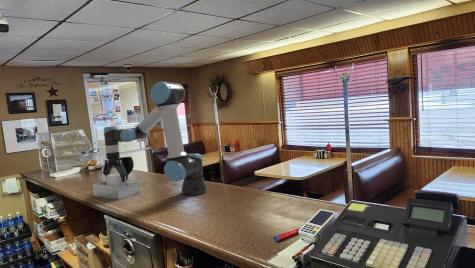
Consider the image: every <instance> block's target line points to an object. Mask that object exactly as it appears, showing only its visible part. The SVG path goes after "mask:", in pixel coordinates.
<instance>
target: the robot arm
mask: <svg viewBox="0 0 475 268" xmlns="http://www.w3.org/2000/svg"><path fill="white" fill-rule="evenodd" d="M185 96H186V91H185V89H184V86H183V85H182V84H180V83H178V82H172V81H171V82H169V81H158V82H156V83H154V84H153V86H152V87H151V90H150V99H151V101H152V102H153V103H155V104H156V106H155V107H154V109H152V110H151V111H150V113H148V115H146V116H145V117H144V119H142V120H141V121H140V122H139V124H137V125H136V126H135V127H130V128H121V129H118V127H117V126H115V125H113V126H112V125H111V126H105V127H104V128H103V138H104V145H105V148H104V149H105V157H106V159H105V160H104V165H103V171H102V174H103V175H104V176H105V181H106V184H107V185H108V186H109V184H108V178H107V175H110V174H111V172H112V170H113V168H114V169H115V170H116V171H117V173H119V174H120V184H121V186H122V185H125V180H126V177H125V176H126V175H127V172H126V170H125V167H124V165H123V161H122V160H118V158H121V157H120V148H119V147H120V146H119V143H124V142H125V143H129V142H133V141H137V140H143V139H146V138H148V136H149V133H150V131H152V129H153V128H154V127H155V126H156V125H157V124H158V123H160V121H161V122H162V127H163V131H164V132H163V133H164V136H165V137H164V138H165V143H166V147H167V153H168V154H167V156H166V163H165V164H164V167H163V171H164V174H165V176H166V178H168V179H169V180H170V181H172V182H181V181H182V185H181V190H180V191H181V193H180V194H181V195H183V196H198V195H202V194H205V193H207V192H208V186H207V184H206V182H205V179H204V169H203V156H202V154H200V153H187V152H186V151H185V148H184V143H183V138H182V137H183V136H182V132H181V126H180V121H179V115H178V110H177V109H178V107H179V105H181V103H182V102H183V101H184V100H185Z"/></svg>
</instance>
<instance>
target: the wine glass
mask: <svg viewBox="0 0 475 268" xmlns="http://www.w3.org/2000/svg"><path fill="white" fill-rule="evenodd" d="M118 160H122V161H123V165H124V167H125V170H126V172H127V175H126V176H125V180H128V179H129V177H128V176H129V175H130V174H131V173H132V172H133V169H134V166H135V165H134V164H135V163H134V159H133V157H132V156H122V157H119V158H118Z"/></svg>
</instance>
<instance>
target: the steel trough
mask: <svg viewBox="0 0 475 268" xmlns="http://www.w3.org/2000/svg"><path fill="white" fill-rule="evenodd" d="M92 191H93V197H96V198H102V199H108V200H109V199H110V200H115V201H121V200H124V199H127V198H130V197H133V196H137V195H140V193H141V192H140V182H139V180H126V179H125V185H122V186H119V187H117V186H108V185H107V184H106V180H104V181H99V182H97V183H93V184H92Z"/></svg>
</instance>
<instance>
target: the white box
mask: <svg viewBox="0 0 475 268" xmlns="http://www.w3.org/2000/svg"><path fill="white" fill-rule="evenodd" d="M107 178H108V184H109V186H117V187H119V186H121V184H120V174H119V173H118V172H116V173H115V172H114V173H110V175H107Z"/></svg>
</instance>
